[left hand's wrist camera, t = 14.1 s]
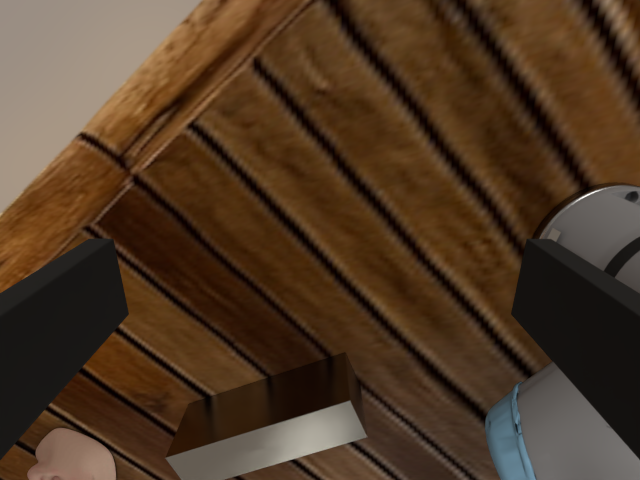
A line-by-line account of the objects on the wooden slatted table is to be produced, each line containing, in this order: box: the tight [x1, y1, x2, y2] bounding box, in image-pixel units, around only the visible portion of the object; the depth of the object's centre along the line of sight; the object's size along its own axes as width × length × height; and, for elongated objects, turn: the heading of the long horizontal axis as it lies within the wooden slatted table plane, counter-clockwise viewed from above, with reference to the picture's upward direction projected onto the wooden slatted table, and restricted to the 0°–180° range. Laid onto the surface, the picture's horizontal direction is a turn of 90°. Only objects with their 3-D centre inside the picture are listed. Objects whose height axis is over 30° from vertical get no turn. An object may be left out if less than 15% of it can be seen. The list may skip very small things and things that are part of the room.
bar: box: [166, 353, 367, 480], centre depth 46 cm, size 22×6×8 cm, turn 112°
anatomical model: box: [27, 428, 116, 480], centre depth 52 cm, size 13×4×12 cm
